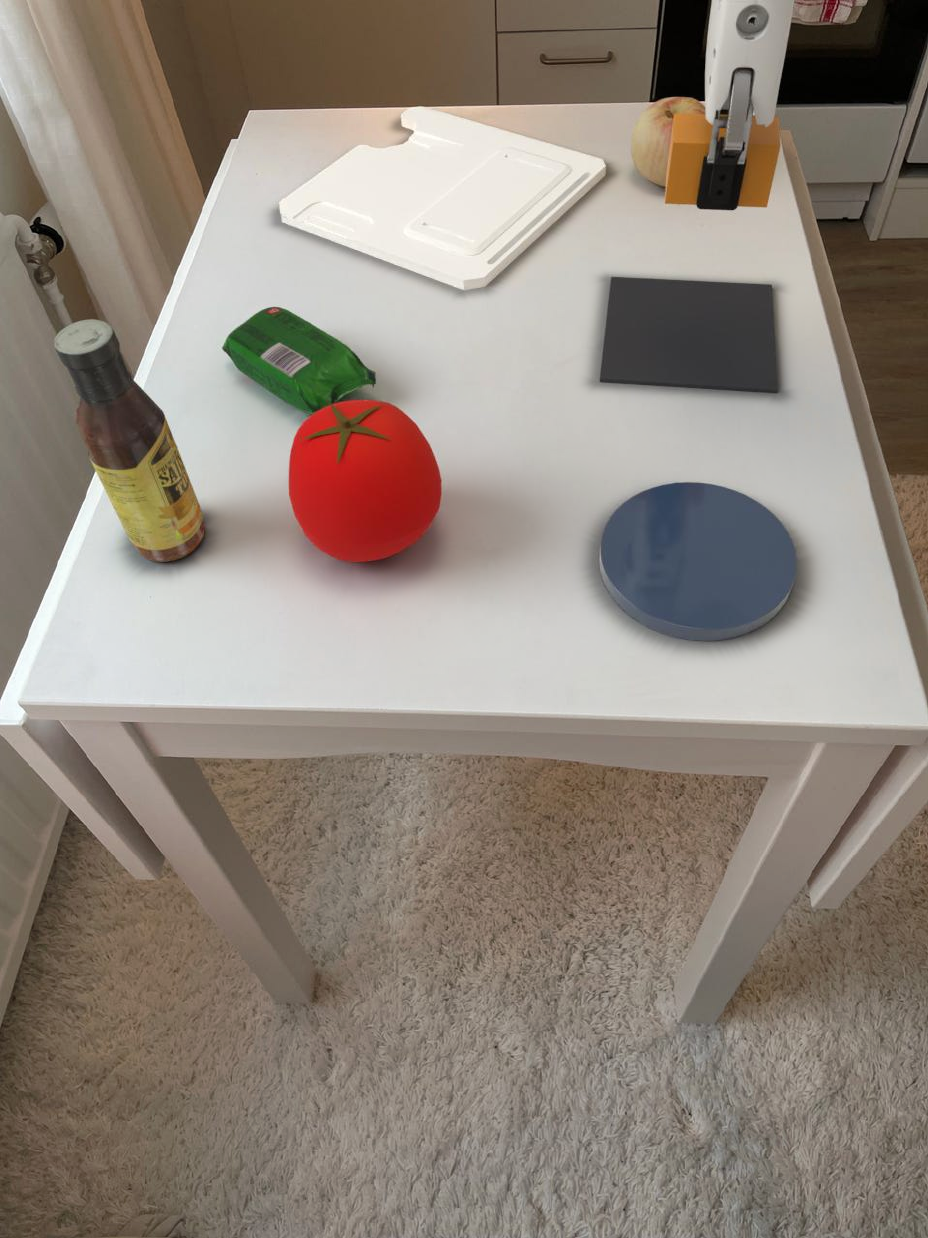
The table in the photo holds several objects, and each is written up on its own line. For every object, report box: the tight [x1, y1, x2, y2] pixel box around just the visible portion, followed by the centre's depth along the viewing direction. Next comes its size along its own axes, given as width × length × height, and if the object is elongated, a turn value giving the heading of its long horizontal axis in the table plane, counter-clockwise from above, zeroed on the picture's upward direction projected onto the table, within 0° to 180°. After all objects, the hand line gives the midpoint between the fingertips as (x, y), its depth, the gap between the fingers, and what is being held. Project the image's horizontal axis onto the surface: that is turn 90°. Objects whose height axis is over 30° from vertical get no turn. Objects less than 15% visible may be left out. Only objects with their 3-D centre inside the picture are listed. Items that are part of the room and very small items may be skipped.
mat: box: [599, 276, 779, 394], centre depth 92 cm, size 16×16×1 cm
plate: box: [598, 481, 798, 642], centre depth 75 cm, size 15×15×2 cm
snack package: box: [221, 306, 377, 415], centre depth 88 cm, size 7×16×5 cm, turn 46°
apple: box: [630, 96, 705, 188], centre depth 106 cm, size 9×9×8 cm
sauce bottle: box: [53, 318, 206, 563], centre depth 72 cm, size 6×6×20 cm
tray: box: [278, 105, 607, 291], centre depth 109 cm, size 28×28×2 cm
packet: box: [664, 113, 781, 208], centre depth 75 cm, size 8×4×5 cm, turn 81°
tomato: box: [288, 399, 443, 563], centre depth 74 cm, size 12×12×13 cm
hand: (716, 187), depth 77 cm, fingers closed on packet, 4 cm apart
